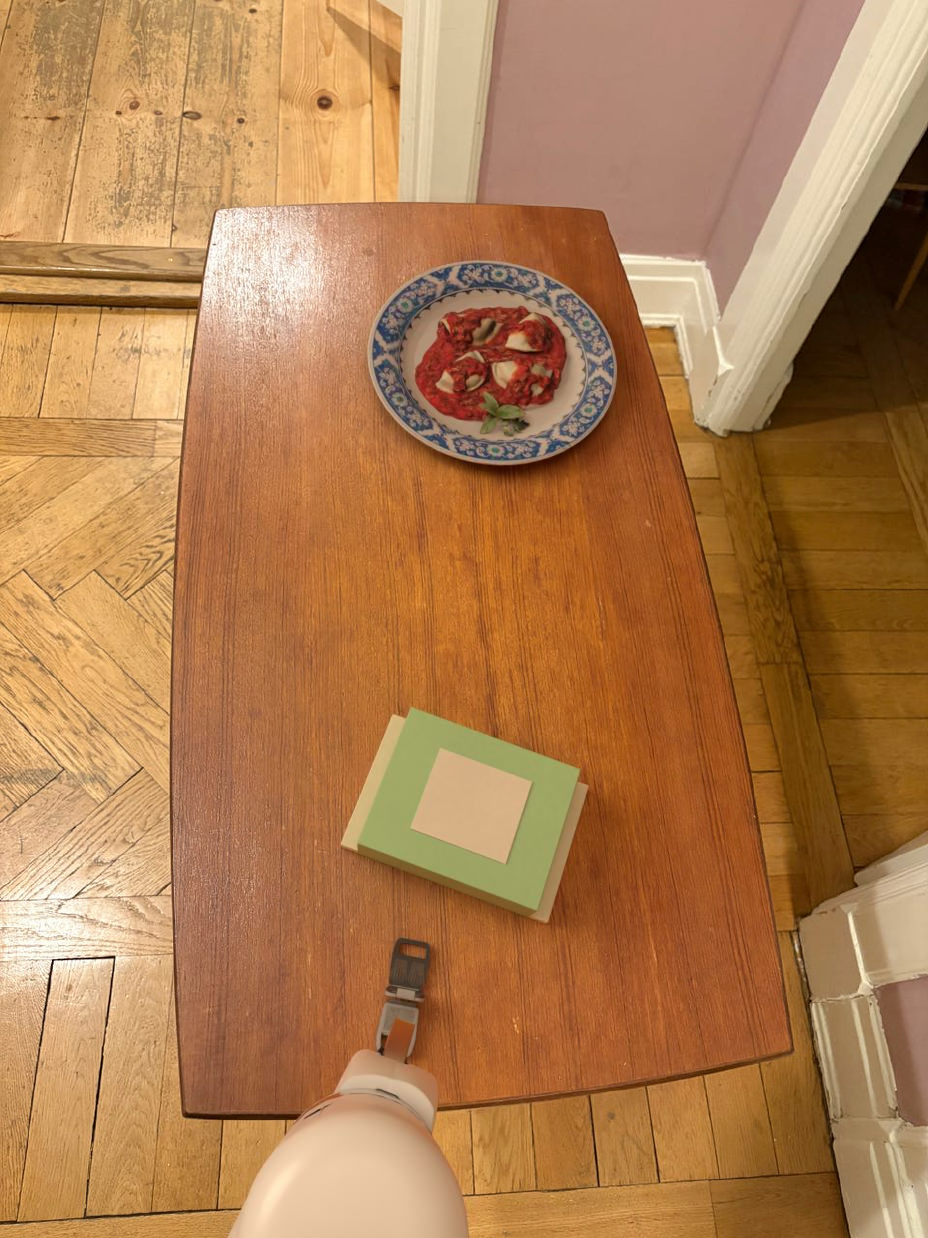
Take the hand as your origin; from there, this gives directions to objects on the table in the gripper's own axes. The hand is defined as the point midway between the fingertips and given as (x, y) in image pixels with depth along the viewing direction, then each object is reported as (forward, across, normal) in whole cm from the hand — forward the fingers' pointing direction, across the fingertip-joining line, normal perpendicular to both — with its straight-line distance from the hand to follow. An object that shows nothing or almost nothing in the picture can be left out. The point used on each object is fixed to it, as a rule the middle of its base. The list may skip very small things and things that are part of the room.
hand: (359, 1141), depth 57 cm
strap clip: (+16, +9, 0) cm, 18 cm away
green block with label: (+15, +24, 0) cm, 28 cm away
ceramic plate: (+16, +69, +13) cm, 72 cm away
